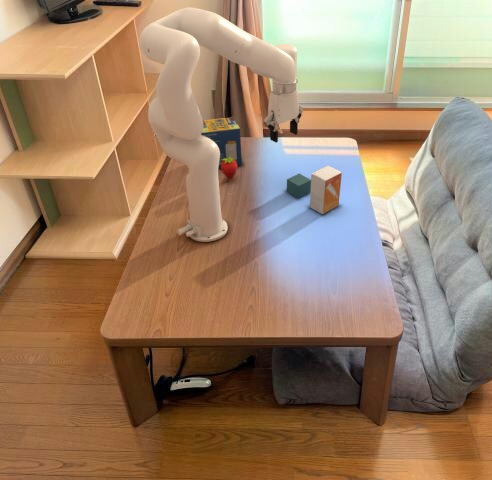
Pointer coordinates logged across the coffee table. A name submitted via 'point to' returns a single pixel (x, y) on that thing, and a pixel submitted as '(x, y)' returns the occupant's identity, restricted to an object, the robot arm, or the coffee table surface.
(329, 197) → the small box
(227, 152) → the protein box
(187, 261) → the coffee table surface
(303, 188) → the teal block
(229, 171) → the strawberry
